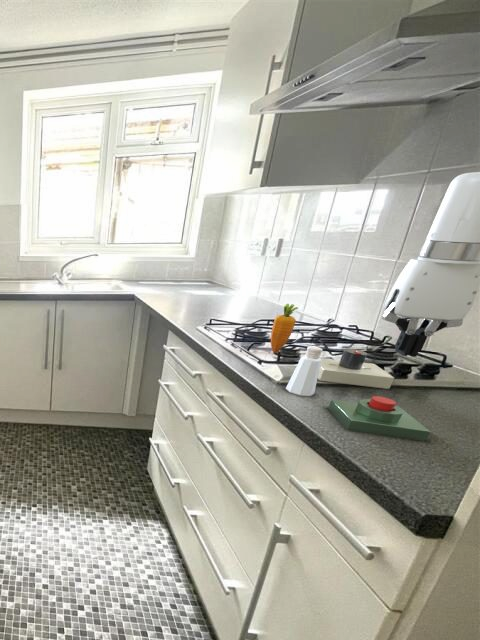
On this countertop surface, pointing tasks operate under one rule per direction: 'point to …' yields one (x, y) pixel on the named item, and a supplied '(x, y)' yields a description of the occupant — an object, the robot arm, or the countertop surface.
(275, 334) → the carrot
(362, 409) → the green button base
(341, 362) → the hob knob
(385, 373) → the hob panel
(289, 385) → the pepper shaker
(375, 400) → the button
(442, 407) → the countertop surface
